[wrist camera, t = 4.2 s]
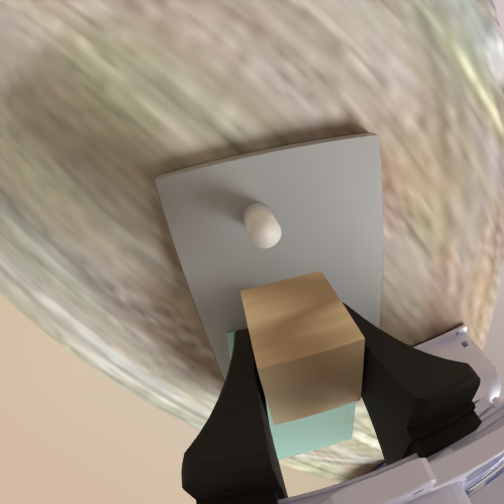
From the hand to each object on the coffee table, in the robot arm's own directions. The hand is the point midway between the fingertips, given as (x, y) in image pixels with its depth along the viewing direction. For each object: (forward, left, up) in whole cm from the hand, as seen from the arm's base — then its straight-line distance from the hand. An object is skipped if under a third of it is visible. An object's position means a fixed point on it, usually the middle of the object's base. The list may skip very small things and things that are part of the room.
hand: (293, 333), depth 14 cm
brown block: (0, 0, -1) cm, 1 cm away
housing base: (-2, +4, -8) cm, 9 cm away
